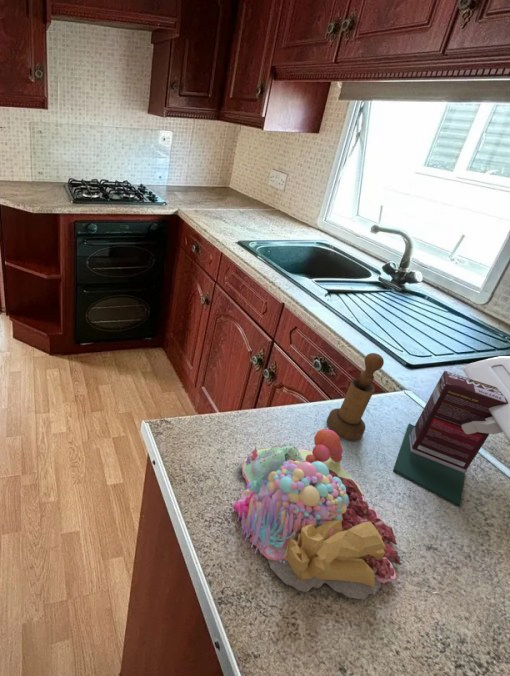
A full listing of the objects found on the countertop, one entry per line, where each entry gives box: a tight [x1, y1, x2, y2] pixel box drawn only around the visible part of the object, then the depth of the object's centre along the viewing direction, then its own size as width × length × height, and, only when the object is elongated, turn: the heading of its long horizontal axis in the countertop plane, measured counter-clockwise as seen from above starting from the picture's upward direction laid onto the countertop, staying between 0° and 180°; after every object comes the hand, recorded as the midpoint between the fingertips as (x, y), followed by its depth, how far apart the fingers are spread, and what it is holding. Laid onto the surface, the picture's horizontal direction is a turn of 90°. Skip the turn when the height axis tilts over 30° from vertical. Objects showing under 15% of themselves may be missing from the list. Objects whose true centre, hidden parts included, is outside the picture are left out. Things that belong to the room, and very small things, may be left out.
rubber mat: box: [392, 423, 466, 508], centre depth 75 cm, size 16×10×1 cm, turn 139°
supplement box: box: [409, 370, 508, 473], centre depth 71 cm, size 9×5×16 cm, turn 60°
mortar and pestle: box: [326, 352, 385, 442], centre depth 77 cm, size 7×6×18 cm
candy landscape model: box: [233, 428, 402, 601], centre depth 61 cm, size 25×24×9 cm
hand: (455, 415), depth 70 cm, fingers closed on supplement box, 5 cm apart
